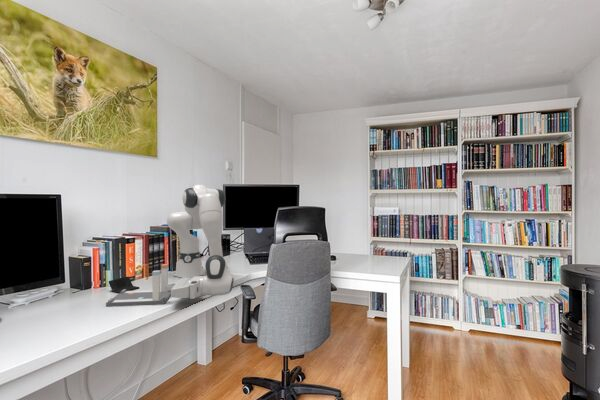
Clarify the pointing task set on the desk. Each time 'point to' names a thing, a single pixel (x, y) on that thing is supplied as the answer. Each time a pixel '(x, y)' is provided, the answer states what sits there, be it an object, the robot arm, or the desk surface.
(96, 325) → the desk surface
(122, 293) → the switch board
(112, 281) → the handheld gaming console
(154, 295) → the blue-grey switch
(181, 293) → the robot arm
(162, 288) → the grey upright post
